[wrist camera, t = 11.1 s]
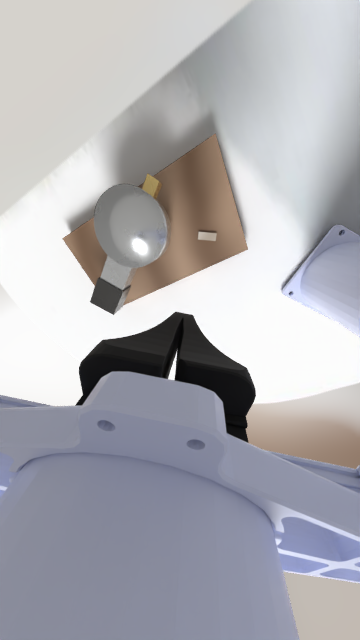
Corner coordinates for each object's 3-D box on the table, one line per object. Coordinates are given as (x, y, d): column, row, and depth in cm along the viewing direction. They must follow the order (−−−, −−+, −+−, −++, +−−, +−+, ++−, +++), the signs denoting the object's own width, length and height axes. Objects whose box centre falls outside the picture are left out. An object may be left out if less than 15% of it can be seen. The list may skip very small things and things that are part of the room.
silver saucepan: (128, 162, 14) (110, 146, 11) (188, 204, 15) (186, 198, 12) (90, 286, 20) (73, 295, 17) (135, 312, 21) (126, 323, 18)
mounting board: (244, 248, 19) (250, 250, 16) (116, 306, 24) (108, 313, 22) (214, 142, 15) (216, 126, 13) (71, 238, 20) (55, 238, 18)
